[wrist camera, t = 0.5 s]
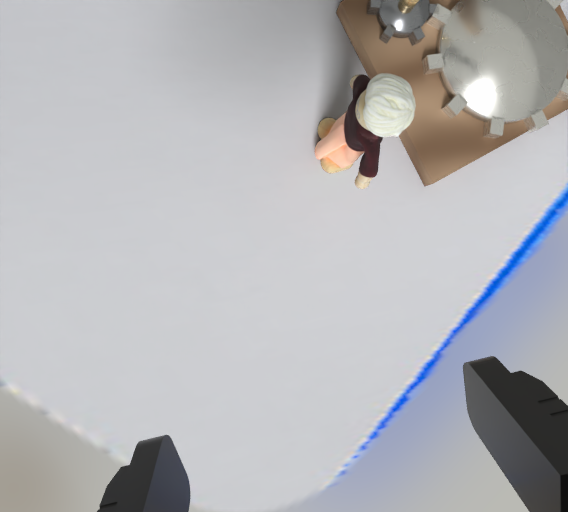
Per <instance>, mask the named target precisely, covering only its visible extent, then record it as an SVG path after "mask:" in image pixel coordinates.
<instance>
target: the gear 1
mask: <svg viewBox="0 0 568 512" xmlns="http://www.w3.org/2000/svg"><path fill="white" fill-rule="evenodd" d="M436 7H437V4H430V3H429V0H370V1H369V2H368V4H367V14H369V15H376V17H377V20H378V23H379V25H380V26H381V28H382V29H383V30H384V32H383V34H382V35H381V37H380V38H379V39H380V40H381V41H383V42H384V43H386V44H387V43H388V41H389V40H390V39H391V37H392V36H393V37H396V38H408V39H409V41H410V43H411V45H412V46H414V45H416V44H418V43H420V42H421V40H422V39H423V38H424V37H425V35H424V33H423V31H422V29H421V27H422V26H423V25H424V23H425V22H426V20H428V19H429V18H430V17H431V15H432V14H433V13H434V11H435V10H436ZM437 8H438V7H437ZM438 11H439V9H438Z"/></svg>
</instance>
